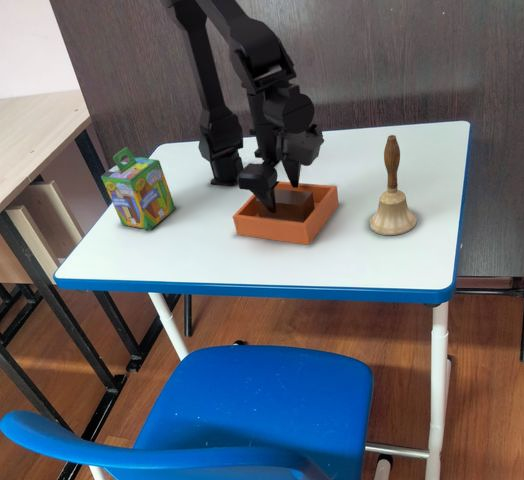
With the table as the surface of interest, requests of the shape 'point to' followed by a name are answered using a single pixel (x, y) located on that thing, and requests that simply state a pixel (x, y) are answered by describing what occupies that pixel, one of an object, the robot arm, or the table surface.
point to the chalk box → (138, 190)
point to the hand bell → (392, 198)
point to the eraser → (289, 206)
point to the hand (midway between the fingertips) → (284, 199)
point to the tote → (288, 230)
